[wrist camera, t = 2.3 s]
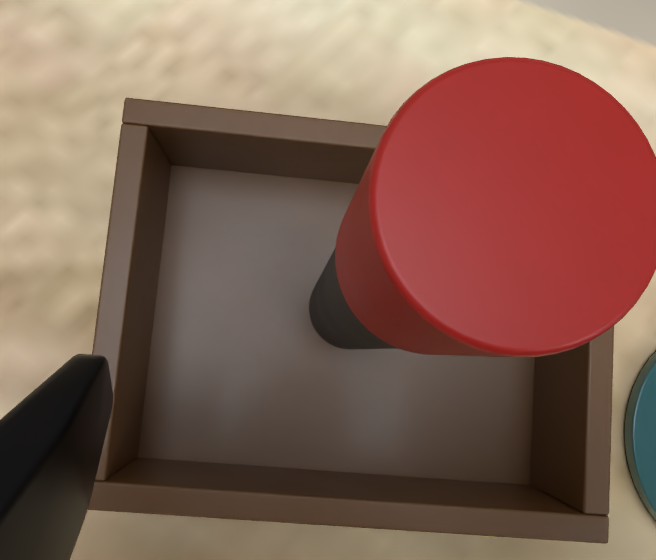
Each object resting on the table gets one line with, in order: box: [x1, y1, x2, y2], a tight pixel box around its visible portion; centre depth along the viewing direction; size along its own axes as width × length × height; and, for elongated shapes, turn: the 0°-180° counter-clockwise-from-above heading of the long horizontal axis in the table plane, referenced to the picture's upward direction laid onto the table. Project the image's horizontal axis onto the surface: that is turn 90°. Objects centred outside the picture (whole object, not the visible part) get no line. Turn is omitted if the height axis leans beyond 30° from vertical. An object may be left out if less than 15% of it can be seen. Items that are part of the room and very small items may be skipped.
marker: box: [309, 57, 656, 357], centre depth 13 cm, size 3×3×14 cm
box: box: [88, 98, 614, 543], centre depth 18 cm, size 10×13×4 cm
